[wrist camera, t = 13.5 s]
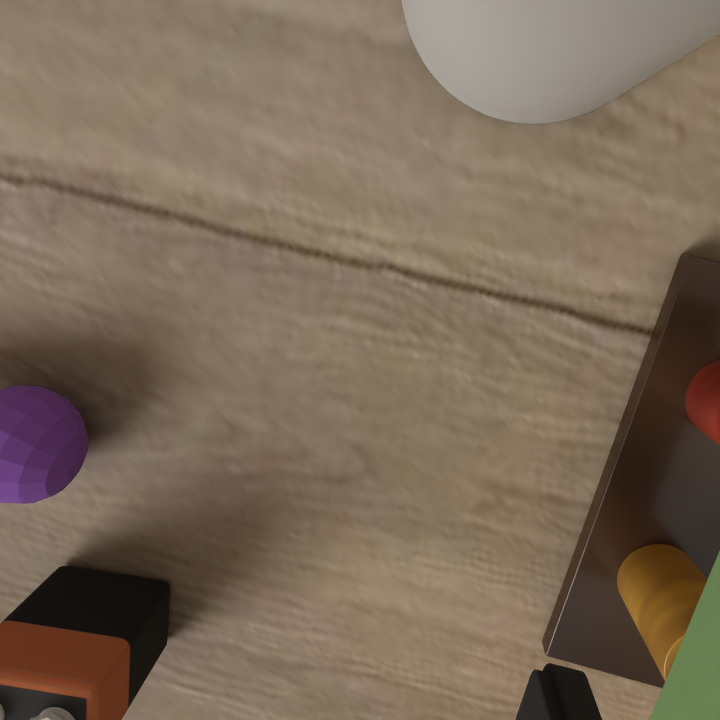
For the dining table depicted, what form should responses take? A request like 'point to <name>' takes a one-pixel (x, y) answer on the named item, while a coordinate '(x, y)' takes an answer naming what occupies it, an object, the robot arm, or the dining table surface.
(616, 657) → the rod stand
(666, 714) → the green bar
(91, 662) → the battery
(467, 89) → the cylinder vase
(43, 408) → the kendama
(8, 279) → the dining table surface
